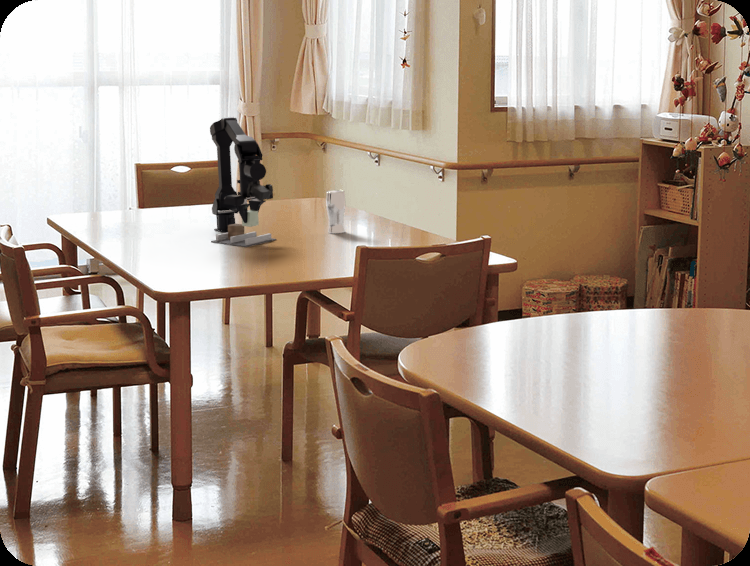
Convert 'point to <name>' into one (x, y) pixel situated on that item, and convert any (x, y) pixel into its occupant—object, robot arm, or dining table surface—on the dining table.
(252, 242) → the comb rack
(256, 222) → the sage block
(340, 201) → the white tall carton
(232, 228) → the walnut block
